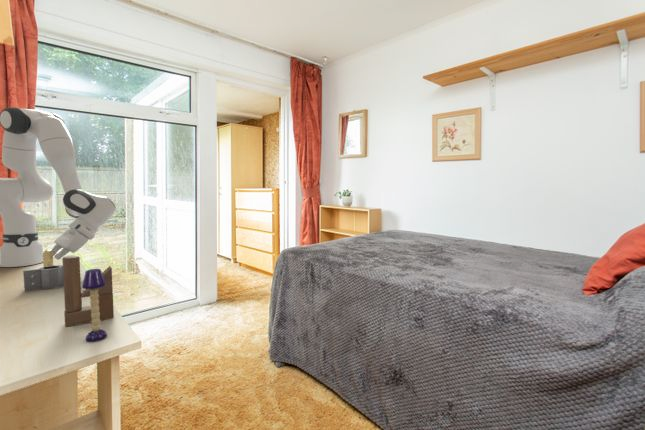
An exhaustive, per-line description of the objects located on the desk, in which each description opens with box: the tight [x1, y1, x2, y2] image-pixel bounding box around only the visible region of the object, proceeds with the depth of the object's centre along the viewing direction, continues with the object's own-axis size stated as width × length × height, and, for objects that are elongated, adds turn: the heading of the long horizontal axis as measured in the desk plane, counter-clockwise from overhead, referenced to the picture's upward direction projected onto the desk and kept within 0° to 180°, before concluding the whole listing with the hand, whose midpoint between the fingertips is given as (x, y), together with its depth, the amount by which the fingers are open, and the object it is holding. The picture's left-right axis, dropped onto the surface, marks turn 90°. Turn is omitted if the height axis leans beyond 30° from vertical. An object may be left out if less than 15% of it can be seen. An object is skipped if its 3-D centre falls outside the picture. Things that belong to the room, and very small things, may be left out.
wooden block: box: [61, 255, 115, 327], centre depth 90 cm, size 4×11×18 cm, turn 128°
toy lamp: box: [81, 268, 108, 343], centre depth 80 cm, size 5×5×17 cm
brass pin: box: [42, 249, 54, 267], centre depth 131 cm, size 3×3×11 cm
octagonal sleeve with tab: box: [22, 264, 64, 292], centre depth 120 cm, size 6×15×7 cm, turn 139°
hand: (53, 256), depth 132 cm, fingers open, 8 cm apart
